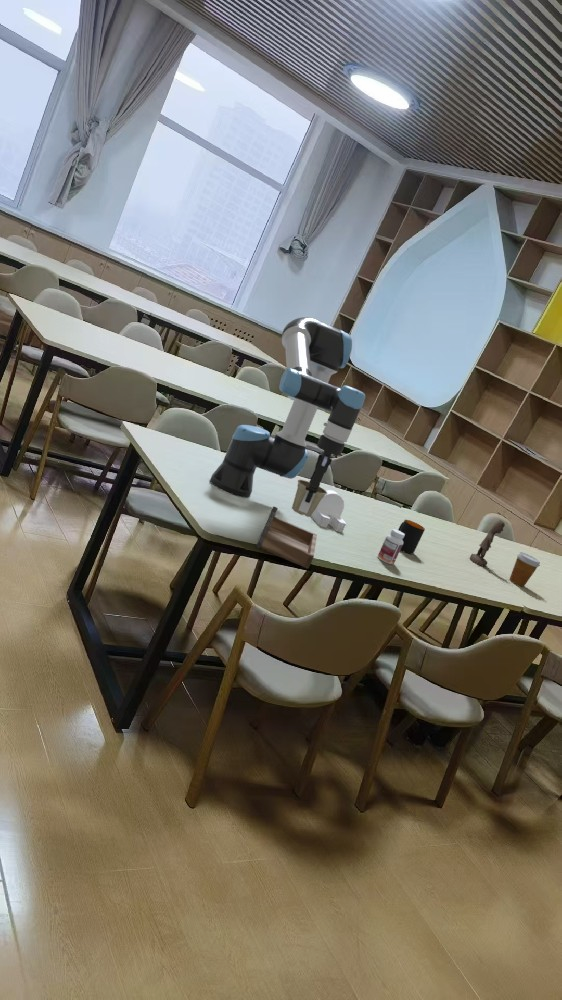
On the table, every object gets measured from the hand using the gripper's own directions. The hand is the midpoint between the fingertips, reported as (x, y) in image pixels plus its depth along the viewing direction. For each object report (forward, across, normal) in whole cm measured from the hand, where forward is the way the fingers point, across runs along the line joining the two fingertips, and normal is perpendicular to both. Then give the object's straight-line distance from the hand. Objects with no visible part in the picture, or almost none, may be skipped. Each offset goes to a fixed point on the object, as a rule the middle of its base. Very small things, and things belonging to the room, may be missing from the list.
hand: (303, 507), depth 224 cm
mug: (+13, -61, +42) cm, 75 cm away
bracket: (+13, -52, +10) cm, 55 cm away
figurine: (+13, -91, +79) cm, 121 cm away
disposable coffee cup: (+13, -83, +95) cm, 127 cm away
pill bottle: (+13, -32, +34) cm, 49 cm away
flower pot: (+2, 0, 0) cm, 2 cm away
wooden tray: (+13, 0, 0) cm, 13 cm away
